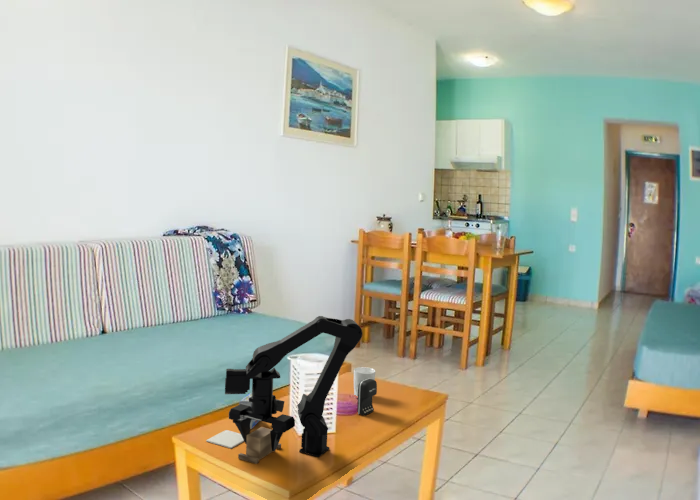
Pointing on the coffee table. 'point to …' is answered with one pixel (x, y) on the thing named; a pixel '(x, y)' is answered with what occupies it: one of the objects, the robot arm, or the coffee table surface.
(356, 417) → the coffee table surface
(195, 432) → the coffee table surface
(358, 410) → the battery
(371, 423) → the coffee table surface
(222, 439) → the plate
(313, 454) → the robot arm
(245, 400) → the medicine box
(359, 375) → the white cup
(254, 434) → the block
